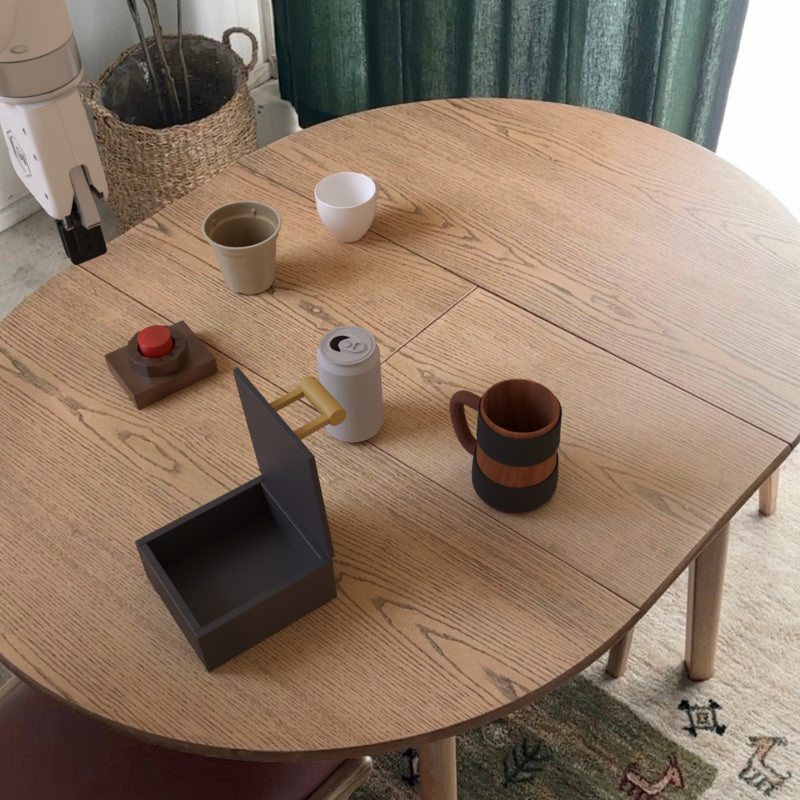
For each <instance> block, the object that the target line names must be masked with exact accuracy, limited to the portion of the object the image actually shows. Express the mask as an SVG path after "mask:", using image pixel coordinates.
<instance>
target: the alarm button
mask: <svg viewBox="0 0 800 800" xmlns="http://www.w3.org/2000/svg"><path fill="white" fill-rule="evenodd" d="M141 330H142V331H141ZM141 330H140V331H141V332H140V333H139V335H138V343H139V346H140V350H141V353H142V354H143V355H144V356H146V357H148V358H160V357H163V356H165V355H167V354H168V353H169V352H170V351H171V350H172V348H173V342H172V338H171V334H170V331H169V329H168V328H166V327H164V326H162V325H161V324H153V325H149V326H145V328H143V329H141Z"/></svg>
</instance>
